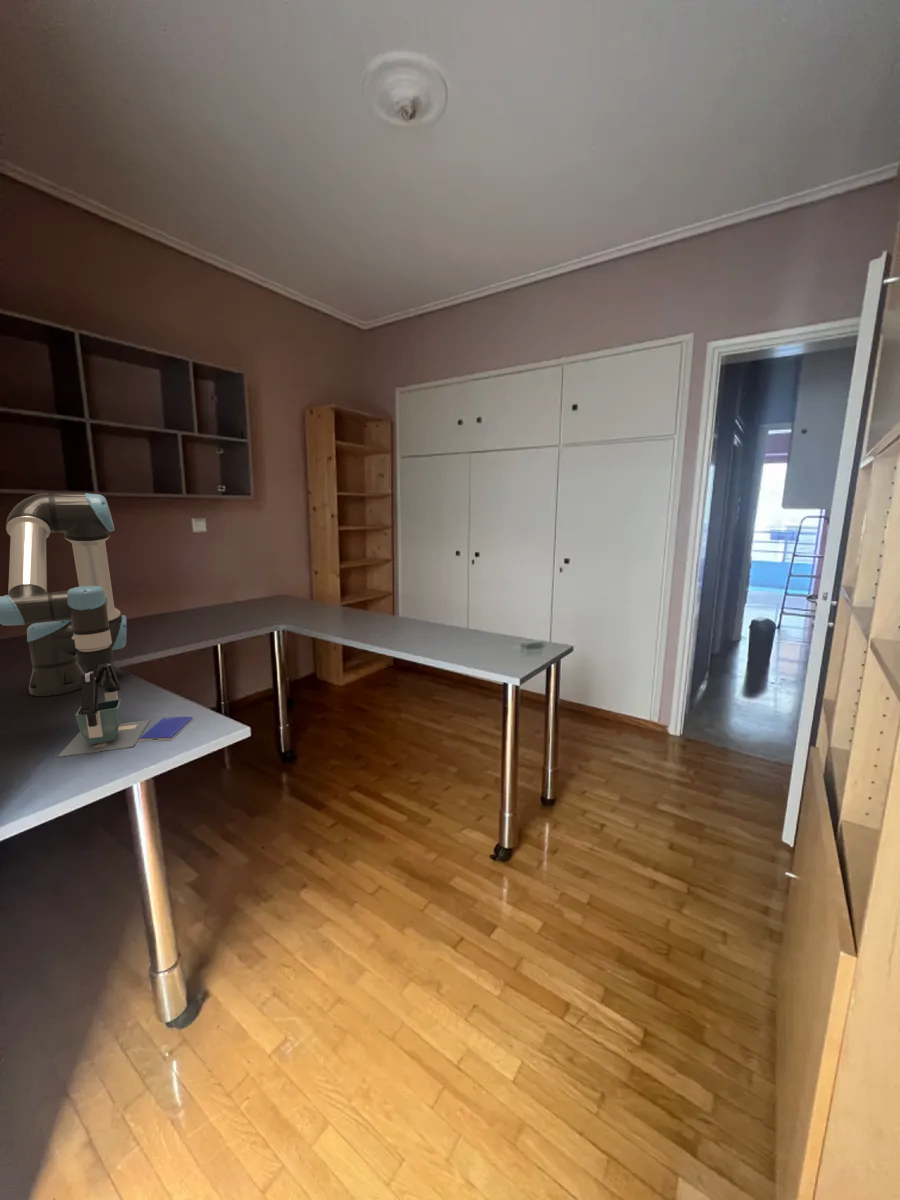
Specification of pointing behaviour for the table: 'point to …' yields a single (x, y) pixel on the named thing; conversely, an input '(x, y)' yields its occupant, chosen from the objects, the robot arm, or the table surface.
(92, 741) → the flower pot
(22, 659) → the table surface
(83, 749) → the letter card
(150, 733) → the blue book
